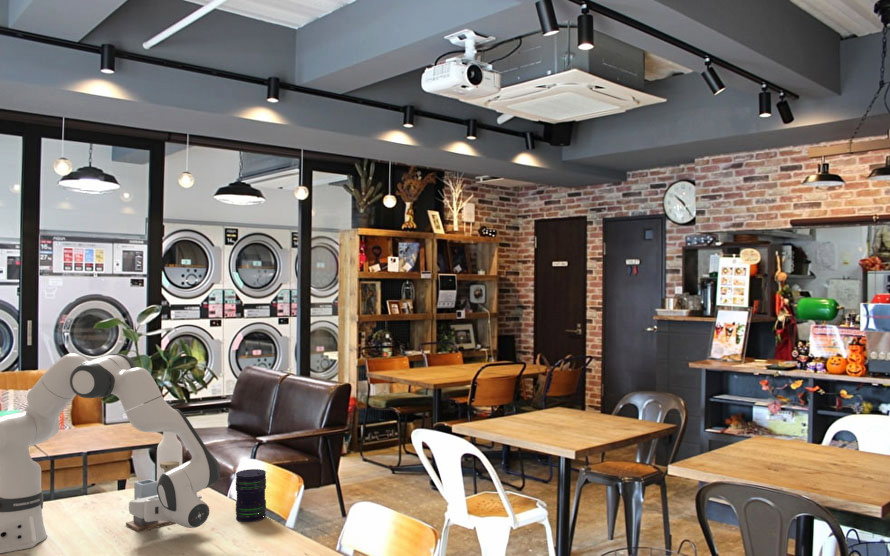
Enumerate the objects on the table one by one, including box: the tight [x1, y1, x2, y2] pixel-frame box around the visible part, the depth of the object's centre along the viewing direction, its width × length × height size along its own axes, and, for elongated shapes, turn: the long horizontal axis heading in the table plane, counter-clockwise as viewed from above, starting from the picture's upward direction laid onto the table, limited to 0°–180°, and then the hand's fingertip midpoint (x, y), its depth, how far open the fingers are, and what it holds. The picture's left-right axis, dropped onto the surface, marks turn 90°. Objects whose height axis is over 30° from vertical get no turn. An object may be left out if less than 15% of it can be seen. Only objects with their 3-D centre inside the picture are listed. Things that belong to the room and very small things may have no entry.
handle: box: [160, 461, 179, 473], centre depth 260 cm, size 5×6×15 cm
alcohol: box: [156, 432, 183, 495], centre depth 273 cm, size 9×9×30 cm
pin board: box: [125, 520, 176, 533], centre depth 242 cm, size 18×9×4 cm, turn 137°
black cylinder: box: [235, 468, 267, 523], centre depth 246 cm, size 10×10×15 cm
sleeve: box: [132, 478, 158, 526], centre depth 238 cm, size 6×6×13 cm
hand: (152, 496), depth 236 cm, fingers open, 8 cm apart
